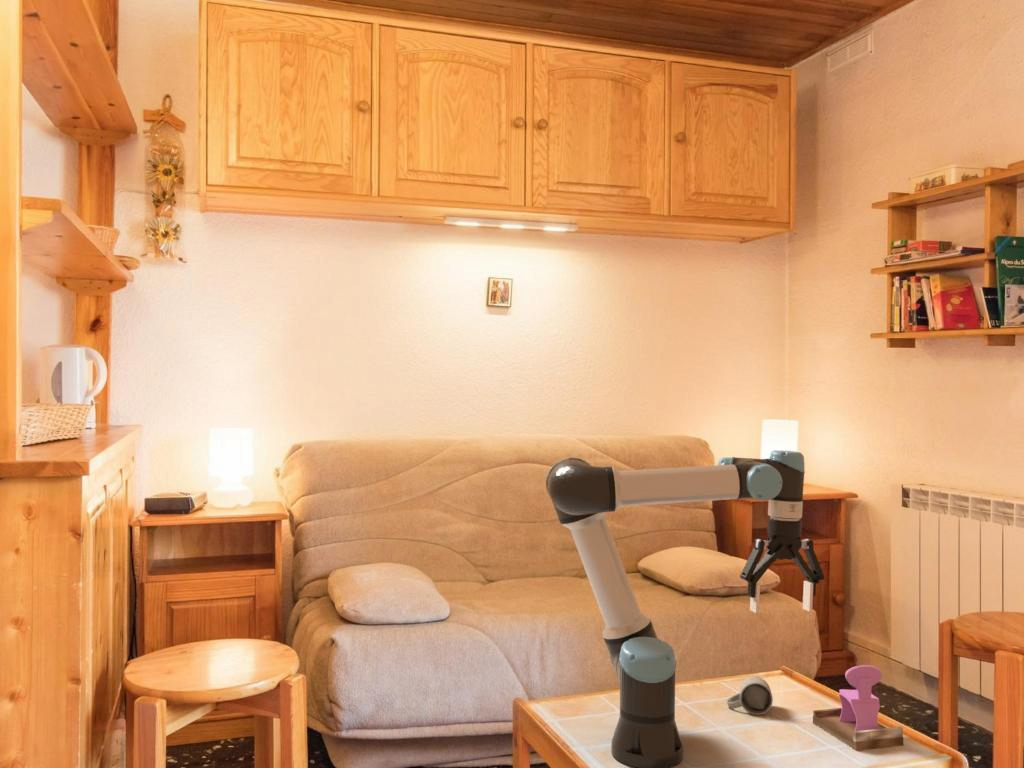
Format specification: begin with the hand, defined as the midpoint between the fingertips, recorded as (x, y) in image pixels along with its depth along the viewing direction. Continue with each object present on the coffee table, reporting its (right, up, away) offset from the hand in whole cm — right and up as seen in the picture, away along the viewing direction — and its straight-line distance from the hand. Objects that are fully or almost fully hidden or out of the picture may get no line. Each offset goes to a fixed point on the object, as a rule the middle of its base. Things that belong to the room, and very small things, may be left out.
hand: (781, 611), depth 200 cm
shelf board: (+17, -28, -2) cm, 32 cm away
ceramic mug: (-4, -28, +13) cm, 31 cm away
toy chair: (+17, -26, -3) cm, 31 cm away
